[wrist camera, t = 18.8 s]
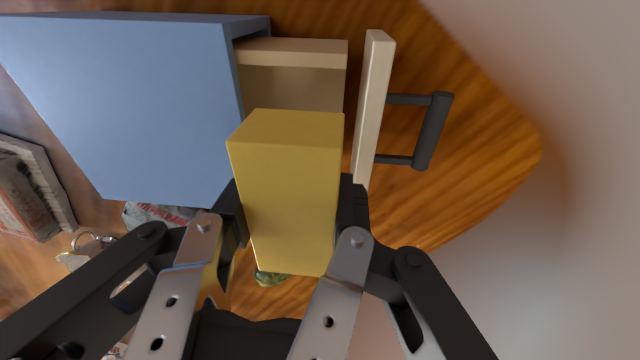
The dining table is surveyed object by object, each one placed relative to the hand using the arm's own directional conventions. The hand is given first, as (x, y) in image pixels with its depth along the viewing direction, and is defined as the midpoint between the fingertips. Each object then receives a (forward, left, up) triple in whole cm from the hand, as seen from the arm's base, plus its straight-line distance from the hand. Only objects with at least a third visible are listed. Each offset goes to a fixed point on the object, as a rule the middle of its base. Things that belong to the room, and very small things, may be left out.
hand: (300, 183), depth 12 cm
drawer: (0, 0, -11) cm, 11 cm away
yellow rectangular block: (0, 0, 0) cm, 0 cm away
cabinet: (0, -12, -12) cm, 17 cm away
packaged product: (+14, -43, -13) cm, 47 cm away
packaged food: (+16, -21, -13) cm, 29 cm away
